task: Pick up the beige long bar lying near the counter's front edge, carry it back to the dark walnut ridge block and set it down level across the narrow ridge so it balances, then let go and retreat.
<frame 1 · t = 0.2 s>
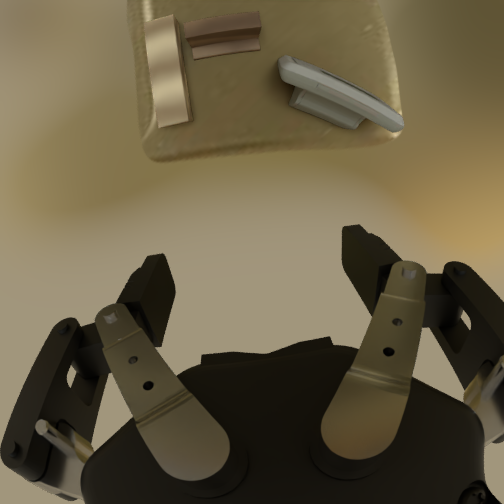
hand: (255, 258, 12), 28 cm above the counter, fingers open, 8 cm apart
beige long bar: (171, 72, 31), on the counter
walnut ridge: (224, 36, 28), on the counter
digital clock: (325, 92, 33), on the counter
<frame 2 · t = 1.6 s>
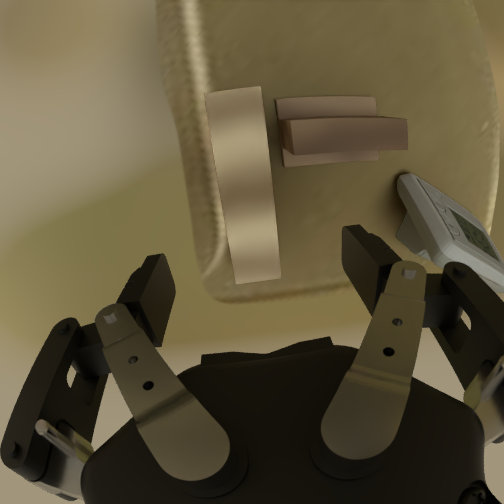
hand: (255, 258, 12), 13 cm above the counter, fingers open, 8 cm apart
beige long bar: (245, 181, 24), on the counter
walnut ridge: (329, 128, 22), on the counter
digital clock: (434, 215, 26), on the counter
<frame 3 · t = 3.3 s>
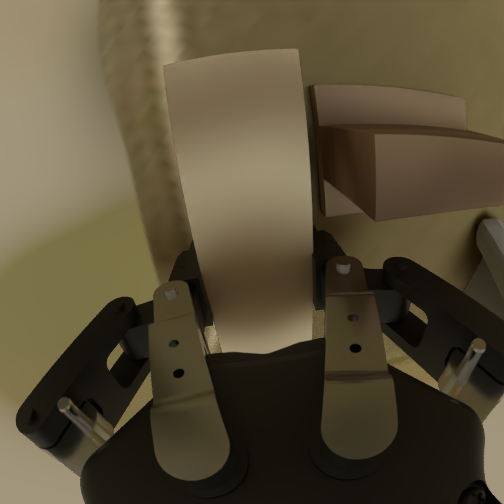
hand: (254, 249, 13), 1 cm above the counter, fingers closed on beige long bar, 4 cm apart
beige long bar: (253, 240, 14), on the counter, touching gripper
walnut ridge: (399, 146, 11), on the counter
digital clock: (501, 265, 16), on the counter
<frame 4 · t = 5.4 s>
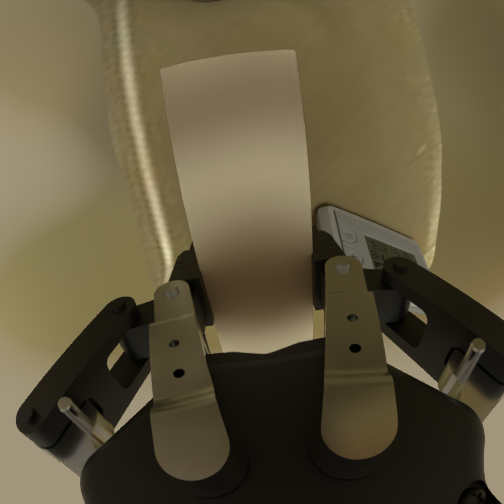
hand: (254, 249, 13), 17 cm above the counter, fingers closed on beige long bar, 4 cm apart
beige long bar: (253, 241, 14), point 16 cm above the counter, touching gripper
digital clock: (363, 240, 33), on the counter
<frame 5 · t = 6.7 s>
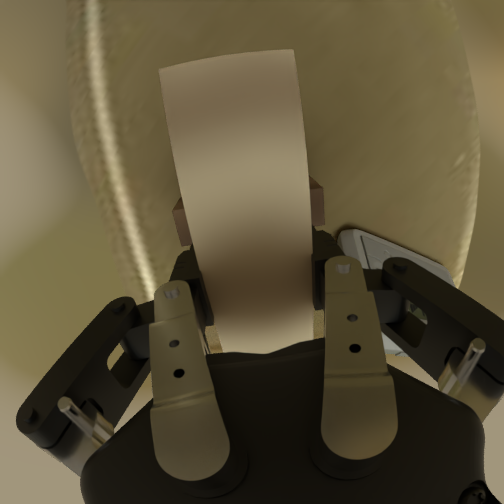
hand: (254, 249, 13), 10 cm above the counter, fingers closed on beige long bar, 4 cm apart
beige long bar: (253, 241, 14), point 9 cm above the counter, touching gripper
walnut ridge: (246, 190, 21), on the counter
digital clock: (389, 267, 26), on the counter
when the fingers open (7 cm above the counter, at t = 7.5 s): beige long bar stays where it is, resting on walnut ridge.
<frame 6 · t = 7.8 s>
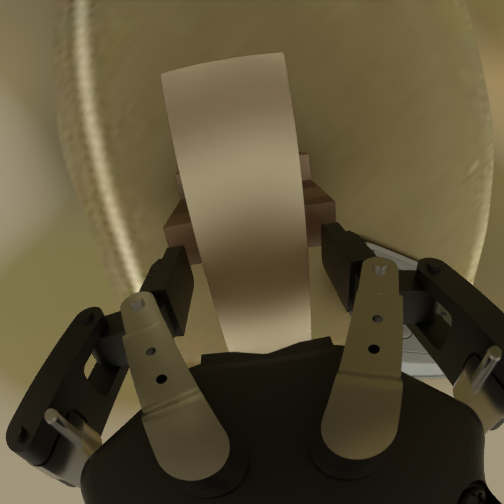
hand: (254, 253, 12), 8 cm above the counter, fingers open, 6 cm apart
beige long bar: (252, 234, 14), point 6 cm above the counter, touching walnut ridge
walnut ridge: (247, 201, 19), on the counter
digital clock: (399, 281, 24), on the counter
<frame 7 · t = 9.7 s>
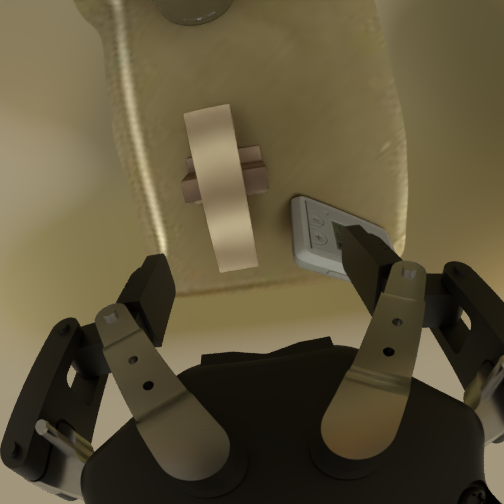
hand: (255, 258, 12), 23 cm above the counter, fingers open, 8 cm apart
beige long bar: (224, 184, 28), point 6 cm above the counter, touching walnut ridge
walnut ridge: (226, 174, 33), on the counter
digital clock: (335, 227, 38), on the counter
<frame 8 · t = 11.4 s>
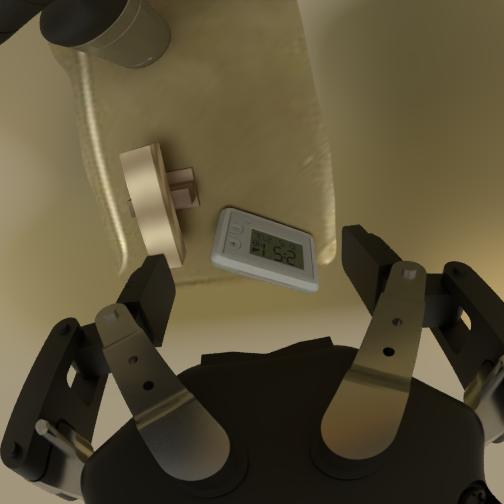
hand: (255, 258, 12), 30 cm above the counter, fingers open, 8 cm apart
beige long bar: (158, 202, 35), point 6 cm above the counter, touching walnut ridge
walnut ridge: (168, 191, 40), on the counter
digital clock: (264, 233, 45), on the counter
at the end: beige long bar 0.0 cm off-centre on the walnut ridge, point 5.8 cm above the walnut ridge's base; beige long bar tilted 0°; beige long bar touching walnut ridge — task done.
